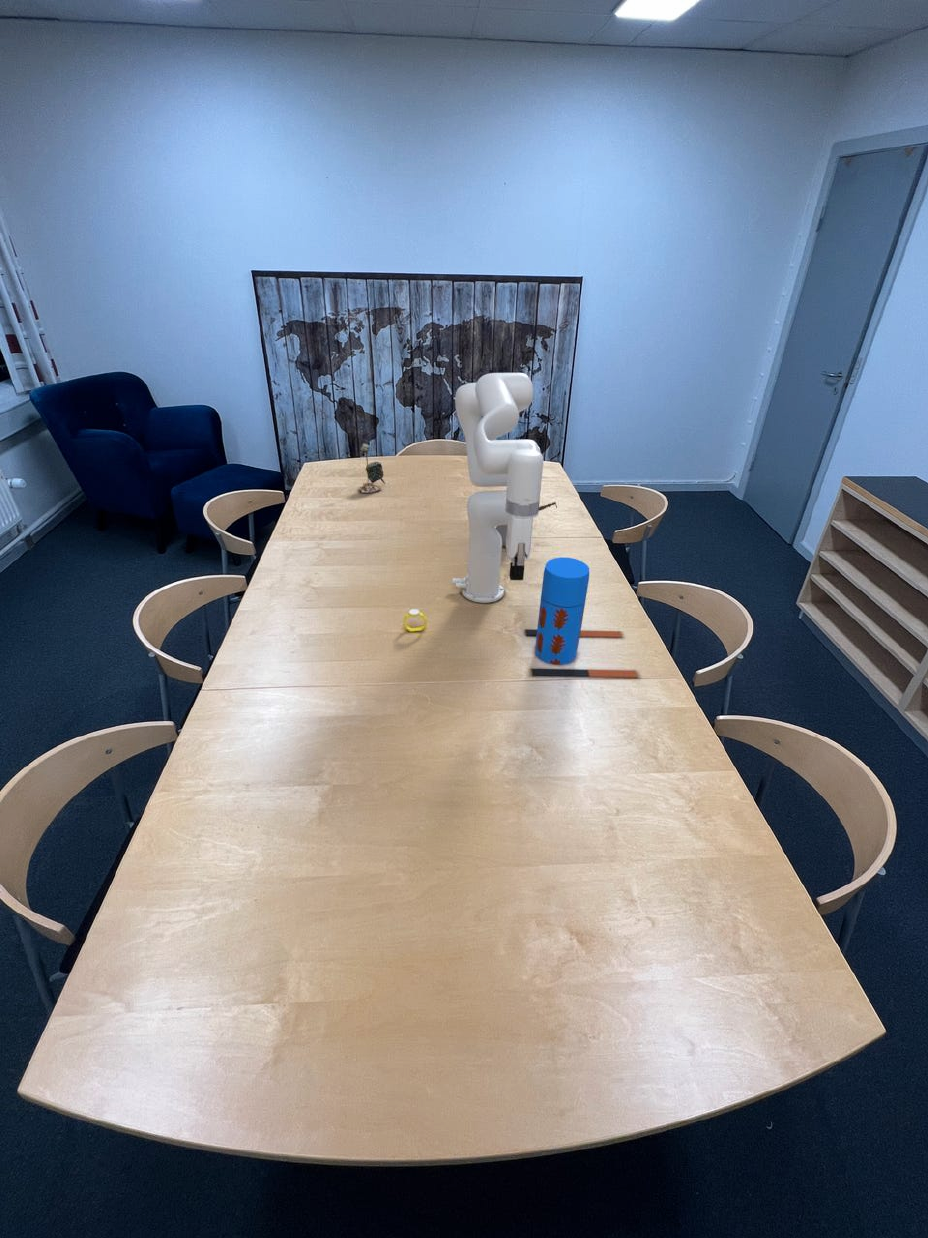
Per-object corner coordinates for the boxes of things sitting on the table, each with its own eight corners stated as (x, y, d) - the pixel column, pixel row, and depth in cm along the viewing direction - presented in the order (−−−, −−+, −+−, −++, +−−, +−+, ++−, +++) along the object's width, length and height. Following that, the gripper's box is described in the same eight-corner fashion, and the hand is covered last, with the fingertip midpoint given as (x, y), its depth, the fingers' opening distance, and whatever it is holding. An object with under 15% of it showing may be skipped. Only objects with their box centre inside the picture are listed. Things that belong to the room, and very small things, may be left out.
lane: (532, 676, 150) (532, 674, 150) (525, 630, 167) (525, 629, 167) (637, 678, 151) (638, 676, 151) (619, 632, 168) (620, 631, 168)
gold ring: (426, 627, 167) (425, 608, 164) (426, 632, 165) (426, 614, 162) (403, 627, 167) (403, 609, 163) (404, 633, 164) (403, 614, 161)
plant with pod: (386, 493, 248) (384, 444, 238) (357, 494, 247) (354, 444, 236) (385, 486, 255) (383, 438, 244) (357, 486, 254) (354, 438, 243)
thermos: (575, 668, 154) (589, 581, 140) (532, 661, 155) (542, 575, 142) (577, 643, 163) (590, 559, 149) (537, 638, 164) (546, 554, 151)
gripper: (503, 493, 143) (498, 564, 153) (507, 519, 130) (502, 593, 140) (535, 494, 143) (528, 564, 153) (542, 519, 131) (535, 594, 140)
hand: (516, 578), depth 147 cm, fingers closed
